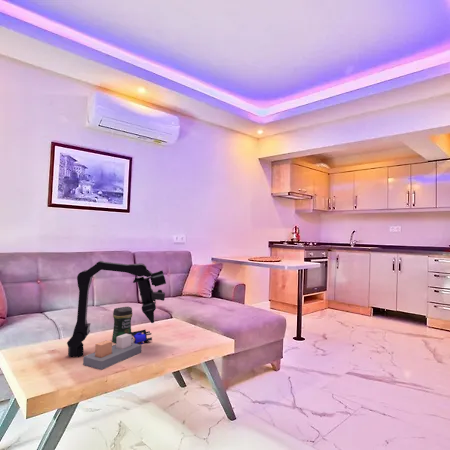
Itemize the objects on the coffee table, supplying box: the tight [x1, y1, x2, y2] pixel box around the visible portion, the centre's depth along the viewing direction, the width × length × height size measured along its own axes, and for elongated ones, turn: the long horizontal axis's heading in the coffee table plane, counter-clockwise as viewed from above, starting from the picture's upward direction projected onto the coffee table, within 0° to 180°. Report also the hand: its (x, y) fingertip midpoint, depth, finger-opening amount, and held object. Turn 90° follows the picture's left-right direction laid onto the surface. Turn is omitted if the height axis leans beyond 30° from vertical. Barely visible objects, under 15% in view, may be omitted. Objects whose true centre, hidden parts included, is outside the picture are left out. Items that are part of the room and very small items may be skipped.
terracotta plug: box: [94, 339, 113, 358], centre depth 146 cm, size 4×6×8 cm, turn 152°
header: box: [82, 343, 143, 371], centre depth 151 cm, size 11×24×4 cm, turn 152°
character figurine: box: [125, 328, 153, 345], centre depth 172 cm, size 8×7×15 cm
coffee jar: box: [111, 306, 133, 345], centre depth 176 cm, size 10×8×19 cm
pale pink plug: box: [115, 334, 131, 350], centre depth 157 cm, size 4×6×8 cm, turn 152°
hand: (152, 320), depth 162 cm, fingers open, 9 cm apart
